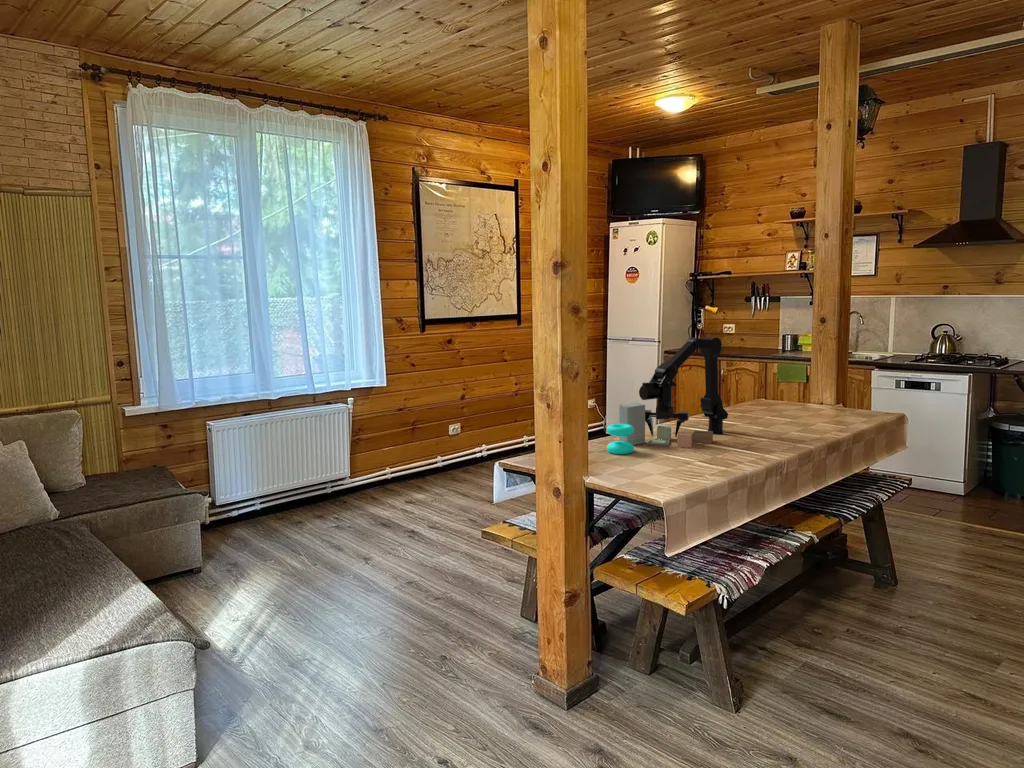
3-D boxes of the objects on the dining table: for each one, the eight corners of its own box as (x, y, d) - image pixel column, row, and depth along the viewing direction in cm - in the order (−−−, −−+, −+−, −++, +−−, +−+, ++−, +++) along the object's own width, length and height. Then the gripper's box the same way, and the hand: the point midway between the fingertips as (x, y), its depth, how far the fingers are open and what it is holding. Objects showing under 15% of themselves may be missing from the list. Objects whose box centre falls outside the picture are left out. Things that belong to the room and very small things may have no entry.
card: (649, 441, 280) (649, 439, 280) (670, 442, 277) (670, 440, 277) (646, 445, 272) (646, 443, 272) (668, 446, 270) (668, 444, 270)
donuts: (602, 426, 260) (613, 422, 268) (602, 453, 261) (613, 448, 269) (628, 429, 255) (638, 424, 263) (628, 456, 256) (637, 450, 264)
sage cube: (658, 437, 286) (658, 425, 285) (671, 438, 285) (671, 426, 284) (656, 440, 281) (657, 428, 281) (669, 441, 280) (669, 428, 279)
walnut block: (694, 440, 281) (694, 430, 280) (712, 441, 278) (712, 431, 278) (692, 444, 274) (692, 433, 274) (710, 445, 272) (710, 434, 271)
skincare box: (636, 440, 281) (636, 401, 279) (646, 444, 274) (646, 404, 272) (618, 443, 278) (617, 403, 276) (627, 446, 271) (627, 405, 269)
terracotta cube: (678, 444, 273) (678, 432, 272) (691, 445, 271) (692, 432, 271) (677, 447, 268) (677, 434, 268) (690, 448, 267) (691, 435, 266)
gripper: (637, 400, 276) (637, 439, 278) (686, 401, 270) (686, 441, 272) (641, 396, 287) (641, 433, 289) (689, 397, 281) (688, 436, 283)
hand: (664, 436), depth 283 cm, fingers open, 9 cm apart
